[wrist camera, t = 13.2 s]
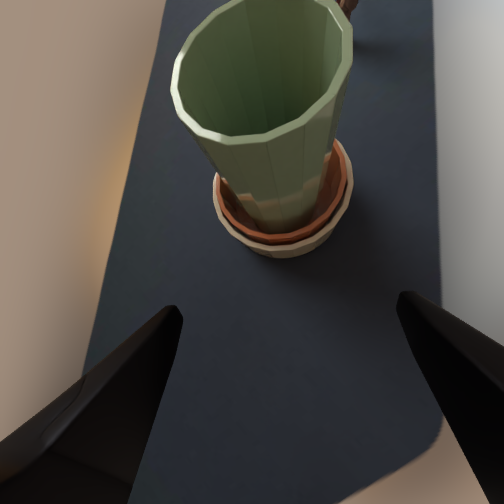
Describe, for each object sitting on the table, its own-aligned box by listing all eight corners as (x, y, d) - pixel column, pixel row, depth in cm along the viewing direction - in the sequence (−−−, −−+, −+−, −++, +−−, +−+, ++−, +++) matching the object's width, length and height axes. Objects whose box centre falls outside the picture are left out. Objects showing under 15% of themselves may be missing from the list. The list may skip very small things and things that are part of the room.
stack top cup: (357, 206, 18) (378, 177, 14) (273, 272, 19) (264, 266, 14) (289, 140, 21) (286, 95, 16) (217, 200, 22) (194, 174, 17)
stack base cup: (369, 206, 18) (387, 184, 14) (272, 282, 19) (265, 280, 15) (290, 132, 21) (288, 97, 17) (209, 199, 22) (190, 180, 18)
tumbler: (330, 219, 18) (390, 86, 6) (259, 246, 19) (193, 174, 7) (302, 157, 20) (308, -45, 8) (238, 184, 21) (156, 42, 9)
